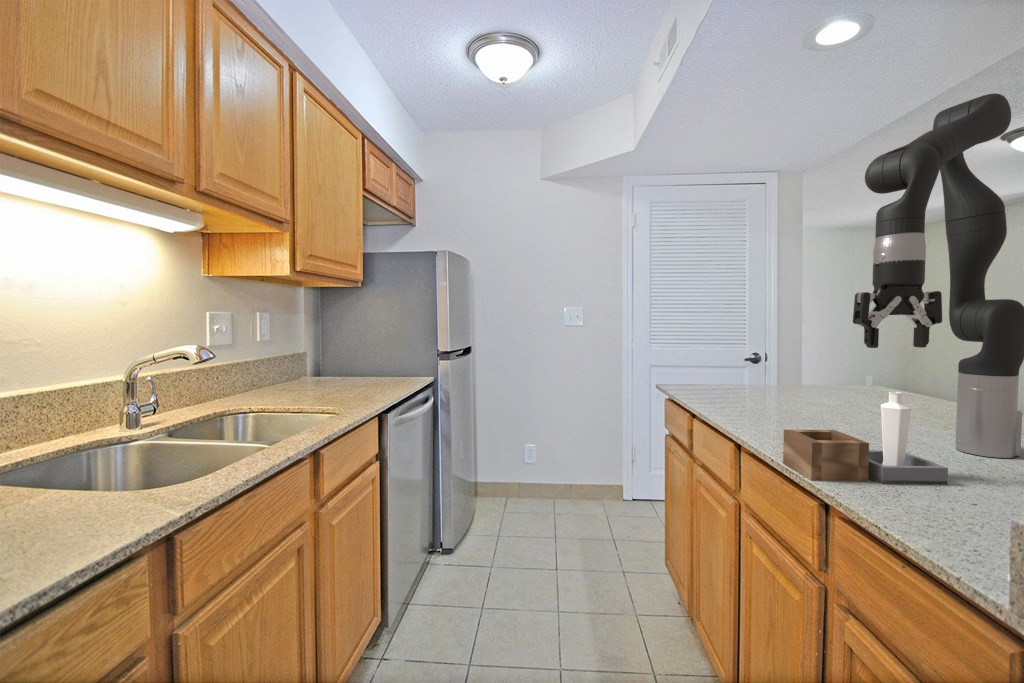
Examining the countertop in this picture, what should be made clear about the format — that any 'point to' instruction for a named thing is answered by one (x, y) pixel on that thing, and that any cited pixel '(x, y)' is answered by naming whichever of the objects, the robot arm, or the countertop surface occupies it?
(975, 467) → the countertop surface
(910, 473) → the tray
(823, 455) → the wooden cubby box
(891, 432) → the perfume bottle
